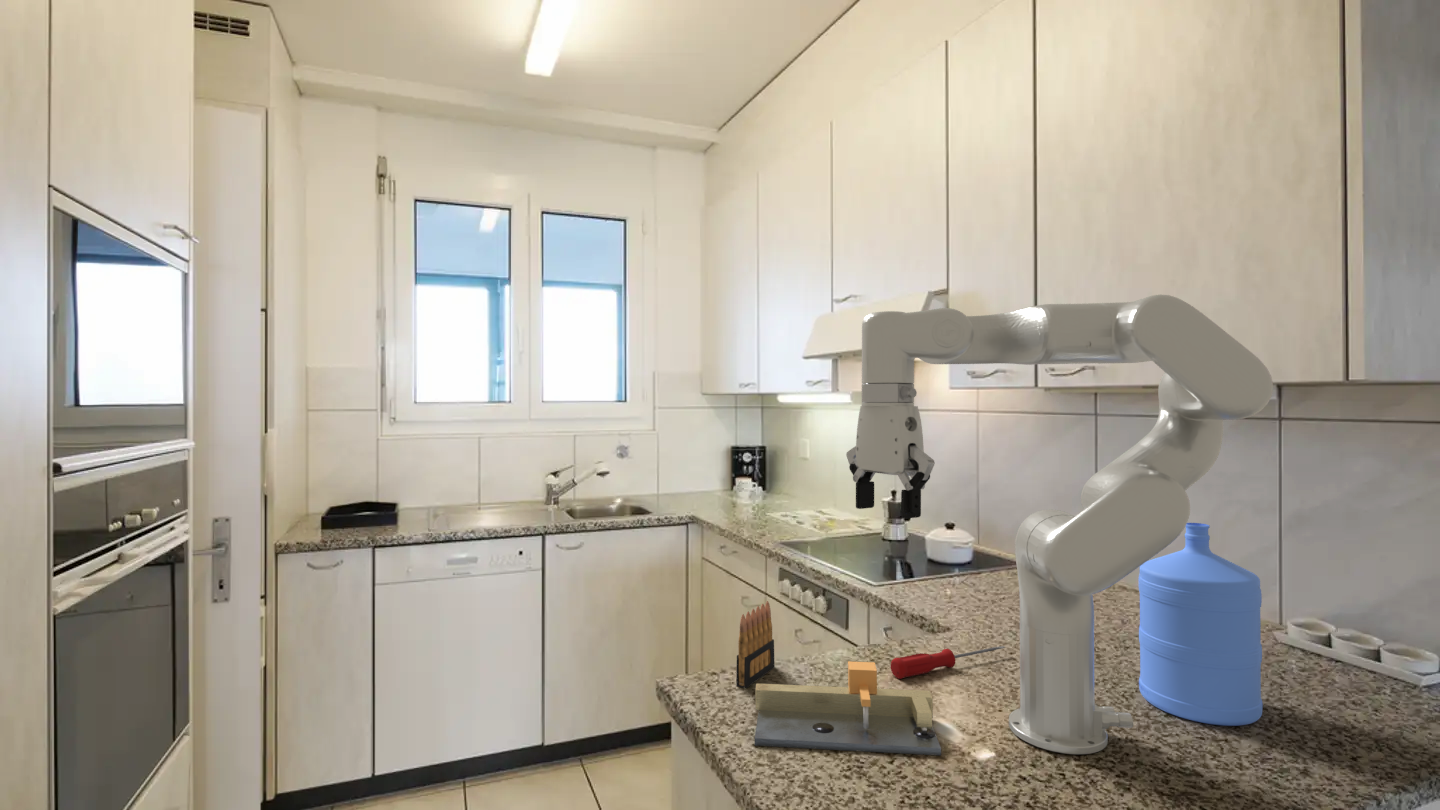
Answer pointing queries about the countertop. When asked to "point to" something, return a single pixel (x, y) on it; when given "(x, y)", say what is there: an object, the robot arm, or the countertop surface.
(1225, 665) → the water jug
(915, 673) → the screwdriver
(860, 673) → the sliding head
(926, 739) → the drilled steel plate with beam
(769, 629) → the ammunition clip
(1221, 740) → the countertop surface
